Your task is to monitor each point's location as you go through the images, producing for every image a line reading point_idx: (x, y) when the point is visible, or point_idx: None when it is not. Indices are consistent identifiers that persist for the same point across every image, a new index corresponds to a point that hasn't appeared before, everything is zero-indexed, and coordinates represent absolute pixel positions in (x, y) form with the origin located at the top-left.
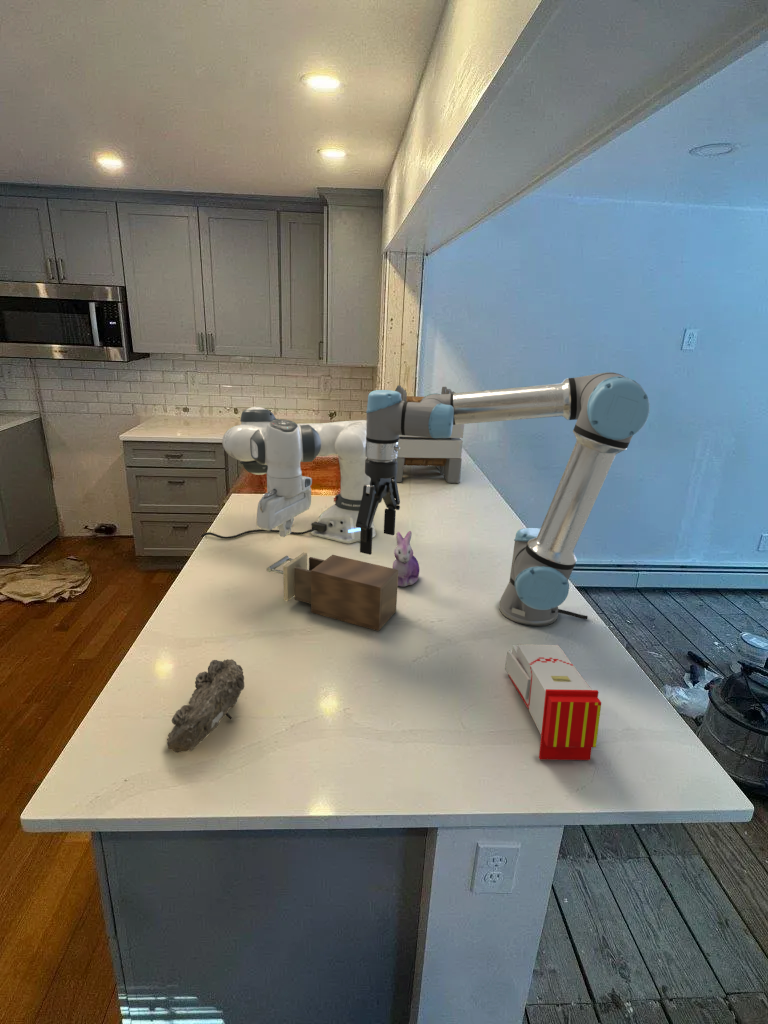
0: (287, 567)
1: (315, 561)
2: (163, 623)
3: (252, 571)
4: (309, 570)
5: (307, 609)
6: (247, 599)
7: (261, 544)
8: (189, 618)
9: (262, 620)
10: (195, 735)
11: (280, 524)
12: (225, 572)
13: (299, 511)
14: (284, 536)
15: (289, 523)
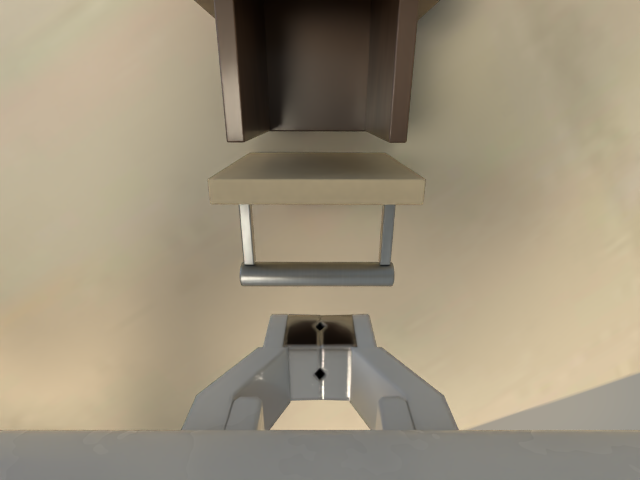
0: (420, 178)
1: (243, 92)
2: (592, 374)
3: None
4: (400, 34)
5: None
6: (405, 279)
7: None
8: (554, 342)
9: (507, 166)
10: None
11: (615, 431)
12: (293, 412)
13: (18, 477)
14: (367, 318)
15: (259, 395)
